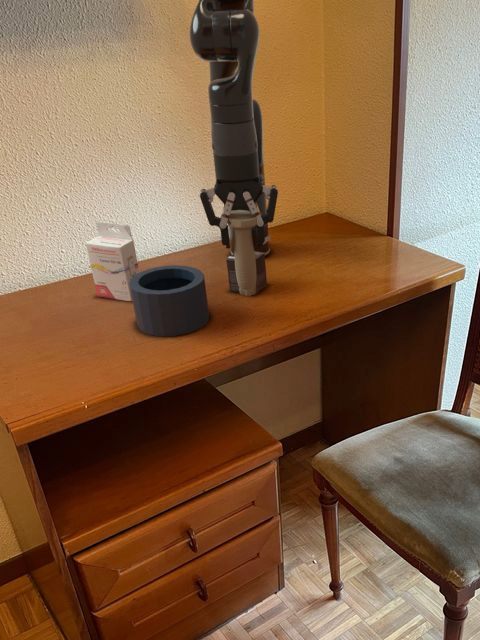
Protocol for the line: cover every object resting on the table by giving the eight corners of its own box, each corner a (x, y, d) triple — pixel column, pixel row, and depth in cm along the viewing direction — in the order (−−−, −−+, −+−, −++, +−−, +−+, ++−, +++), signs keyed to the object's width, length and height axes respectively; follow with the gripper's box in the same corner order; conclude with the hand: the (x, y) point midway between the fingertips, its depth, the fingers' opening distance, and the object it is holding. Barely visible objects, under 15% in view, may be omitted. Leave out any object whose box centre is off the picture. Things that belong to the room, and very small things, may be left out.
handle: (245, 302, 123) (238, 223, 115) (228, 291, 128) (220, 213, 119) (267, 295, 126) (262, 217, 117) (250, 284, 130) (243, 208, 121)
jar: (141, 307, 134) (133, 267, 129) (209, 303, 135) (204, 263, 130) (133, 338, 123) (124, 296, 118) (208, 333, 124) (202, 291, 119)
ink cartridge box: (96, 297, 139) (80, 228, 130) (109, 288, 142) (94, 220, 134) (131, 302, 136) (117, 231, 128) (144, 292, 140) (131, 223, 132)
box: (267, 285, 142) (265, 252, 138) (254, 296, 137) (251, 262, 133) (243, 281, 144) (240, 248, 140) (229, 291, 140) (225, 258, 135)
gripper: (276, 141, 115) (281, 236, 125) (193, 145, 114) (205, 241, 124) (278, 151, 109) (284, 251, 119) (191, 155, 108) (203, 256, 118)
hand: (243, 245), depth 121 cm, fingers closed on handle, 5 cm apart
